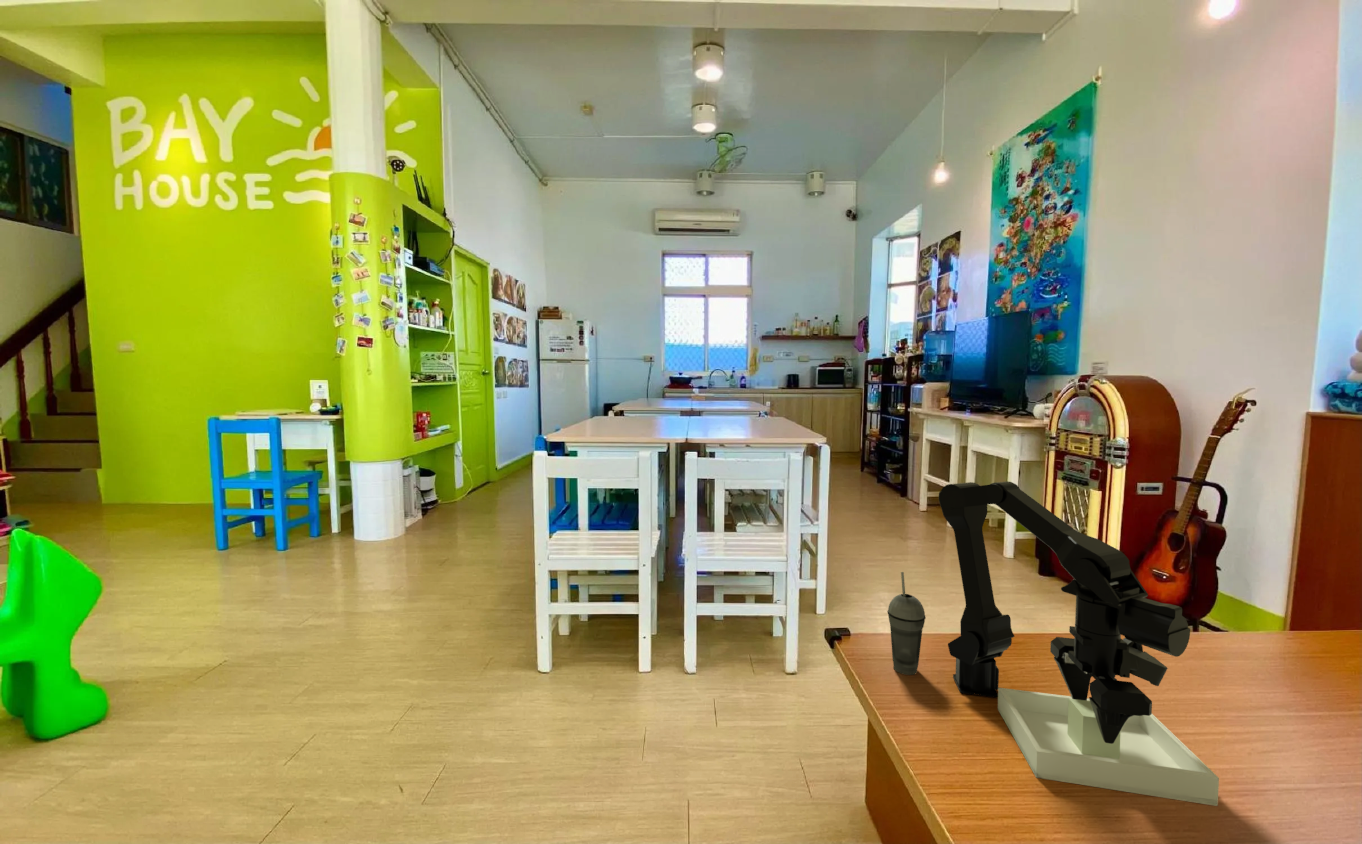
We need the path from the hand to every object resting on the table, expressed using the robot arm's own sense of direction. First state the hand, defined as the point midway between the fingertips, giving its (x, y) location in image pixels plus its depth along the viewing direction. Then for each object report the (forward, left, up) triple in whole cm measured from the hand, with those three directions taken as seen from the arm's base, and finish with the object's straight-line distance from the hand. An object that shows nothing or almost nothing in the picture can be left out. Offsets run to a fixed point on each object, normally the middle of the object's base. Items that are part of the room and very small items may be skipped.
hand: (1093, 724), depth 85 cm
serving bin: (0, 0, -4) cm, 4 cm away
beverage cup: (-25, +20, -4) cm, 32 cm away
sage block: (0, 0, -4) cm, 4 cm away
